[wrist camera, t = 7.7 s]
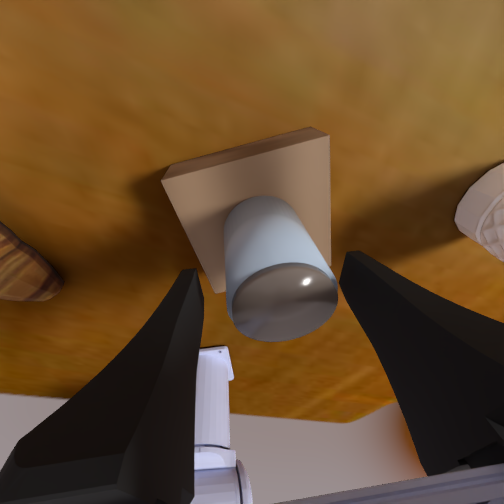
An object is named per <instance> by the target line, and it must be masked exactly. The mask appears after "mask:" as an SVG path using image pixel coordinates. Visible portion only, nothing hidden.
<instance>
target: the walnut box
mask: <svg viewBox="0 0 504 504" xmlns="http://www.w3.org/2000/svg"><path fill="white" fill-rule="evenodd" d="M161 182H162V184H163V187H164V189H165V191H166V193H167V195H168V197H169V199H170V201H171V203H172V205H173V207H174V209H175V211H176V213H177V216H178V218H179V220H180V222H181V224H182V226H183V228H184V230H185V232H186V234H187V236H188V238H189V240H190V242H191V245H192V247H193V249H194V251H195V253H196V255H197V257H198V259H199V261H200V263H201V265H202V267H203V269H204V271H205V273H206V276H207V278H208V280H209V282H210V284H211V286H212V288H213V290H214V292H215V294H216V293H220V292H224V291H226V277H225V254H224V224H225V221H226V219H227V217H228V215H229V214H230V212H231V211H232V210H233V209H234V208H235V207H236V206H237V205H238V204H240V203H241V202H243V201H245V200H247V199H249V198H252V197H256V196H273V197H277V198H280V199H282V200H284V201H285V202H287V203H288V204H289V205H290V206H291V207H292V208H293V209H294V211H295V212H296V214H297V216H298V217H299V219H300V221H301V222H302V224H303V225H304V227H305V229H306V230H307V232H308V234H309V235H310V237H311V239H312V240H313V242H314V243H315V245H316V247H317V248H318V250H319V252H320V253H321V255H322V256H323V258H324V260H325V261H326V263H327V265H328V266H331V207H330V135H328V134H326V133H324V132H322V131H319V130H317V129H315V128H312V127H308V128H304V129H301V130H297V131H293V132H289V133H286V134H282V135H278V136H275V137H271V138H267V139H264V140H260V141H256V142H253V143H249V144H245V145H242V146H238V147H234V148H231V149H227V150H223V151H220V152H216V153H212V154H209V155H205V156H201V157H198V158H194V159H190V160H187V161H183V162H179V163H176V164H172V165H170V167H169V169H168V170H167V172H166V173H165V175H164V176H163V178H162V179H161Z"/></svg>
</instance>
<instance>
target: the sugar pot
mask: <svg viewBox="0 0 504 504" xmlns="http://www.w3.org/2000/svg"><path fill="white" fill-rule="evenodd" d="M224 254H225V277H226V300H227V311H228V314H229V316H230V318H231V319H232V321H233V322H234V324H235V326H236V328H237V329H238V330H239V331H240V332H241V333H242V334H244V335H245V336H247V337H249V338H252V339H255V340H259V341H266V342H279V341H286V340H291V339H295V338H298V337H301V336H304V335H306V334H308V333H310V332H312V331H314V330H316V329H317V328H319V327H320V326H321V325H323V324H324V323H325V322H326V321H327V320H328V319H329V318H330V317H331V315H332V314H333V313H334V311H335V309H336V306H337V303H338V294H337V289H338V288H337V281H336V278H335V276H334V274H333V273H332V271H331V270H330V268H329V266H328V265H327V263H326V261H325V260H324V258H323V256H322V255H321V253H320V252H319V250H318V248H317V247H316V245H315V243H314V242H313V240H312V239H311V237H310V235H309V234H308V232H307V230H306V229H305V227H304V225H303V224H302V222H301V221H300V219H299V217H298V216H297V214H296V212H295V211H294V209H293V208H292V207H291V206H290V205H289V204H288V203H287V202H285V201H284V200H282V199H280V198H277V197H273V196H256V197H252V198H249V199H247V200H245V201H243V202H241V203H240V204H238V205H237V206H236V207H235V208H234V209H233V210H232V211H231V212H230V214H229V215H228V217H227V219H226V221H225V224H224Z"/></svg>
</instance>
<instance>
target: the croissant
mask: <svg viewBox="0 0 504 504" xmlns="http://www.w3.org/2000/svg"><path fill="white" fill-rule="evenodd" d="M63 284H64V281H63V280H62V278H61V277H60V276H59V274H58V273H57V272H56V270H55V269H54V268H53V267H52V266H51V265H50V264H49V263H48V262H47V261H46V260H45V259H44V258H43V257H42V256H41V255H40V254H39V253H38V252H37V251H36V250H35V249H34V248H32V247H31V246H29V245H27V244H26V243H24V242H23V241H21V240H20V239H19V238H18V237H17V236H16V235H15V234H14V233H13V232H12V231H11V230H10V229H9V228H8V227H6V226H5V225H4V224H3V223H1V222H0V299H5V300H12V301H46V300H49V299H51V298H52V297H54V296H55V295H57V294H58V293H59V292H60V290H61V289H62V287H63Z"/></svg>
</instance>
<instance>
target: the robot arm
mask: <svg viewBox="0 0 504 504" xmlns="http://www.w3.org/2000/svg"><path fill="white" fill-rule="evenodd" d="M339 284H340V287H341V289H342V292H343V294H344V296H345V299H346V301H347V303H348V304H349V306H350V308H351V310H352V311H353V313H354V315H355V316H356V318H357V320H358V321H359V323H360V325H361V327H362V328H363V330H364V332H365V333H366V335H367V337H368V338H369V340H370V342H371V343H372V345H373V347H374V349H375V351H376V353H377V355H378V357H379V359H380V362H381V364H382V366H383V368H384V370H385V372H386V375H387V377H388V379H389V381H390V384H391V386H392V388H393V391H394V393H395V395H396V398H397V400H398V403H399V405H400V408H401V410H402V413H403V415H404V418H405V420H406V423H407V426H408V429H409V431H410V434H411V437H412V440H413V442H414V445H415V448H416V451H417V454H418V456H419V459H420V463H421V465H422V466H423V468H424V470H425V472H426V474H427V476H428V477H422V478H416V479H411V480H406V481H399V482H394V483H388V484H382V485H377V486H371V487H365V488H360V489H354V490H348V491H343V492H337V493H331V494H325V495H320V496H314V497H308V498H303V499H297V500H291V501H286V502H280V503H274V504H504V323H502V322H499V321H496V320H494V319H491V318H489V317H486V316H484V315H481V314H479V313H476V312H474V311H471V310H469V309H467V308H464V307H462V306H460V305H458V304H455V303H453V302H451V301H449V300H447V299H445V298H443V297H440V296H438V295H436V294H434V293H432V292H430V291H428V290H427V289H425V288H423V287H421V286H419V285H417V284H415V283H413V282H412V281H410V280H408V279H406V278H405V277H403V276H401V275H399V274H398V273H396V272H394V271H393V270H391V269H389V268H388V267H386V266H384V265H383V264H381V263H379V262H378V261H376V260H375V259H373V258H371V257H369V256H368V255H366V254H364V253H362V252H361V251H351V252H346V256H345V260H344V264H343V268H342V272H341V276H340V280H339ZM203 320H204V297H203V293H202V289H201V285H200V281H199V277H198V273H197V270H196V268H194V269H185V270H182V271H181V273H180V274H179V276H178V278H177V279H176V281H175V282H174V284H173V286H172V287H171V289H170V290H169V292H168V293H167V295H166V296H165V298H164V299H163V301H162V302H161V303H160V305H159V306H158V308H157V309H156V310H155V312H154V313H153V314H152V316H151V317H150V318H149V319H148V321H147V322H146V323H145V325H144V326H143V327H142V328H141V329H140V331H139V332H138V333H137V334H136V335H135V336H134V338H133V339H132V340H131V341H130V342H129V343H128V344H127V345H126V346H125V348H124V349H123V350H122V351H121V352H120V353H119V354H118V355H117V356H116V357H115V358H114V359H113V360H112V361H111V362H110V363H109V364H108V365H107V366H106V367H105V368H104V369H103V370H102V371H101V372H100V373H99V374H98V375H96V376H95V377H94V378H93V379H92V380H91V381H90V382H89V383H88V384H87V385H85V386H84V387H83V388H82V389H81V390H80V391H79V392H78V393H76V394H75V395H74V396H73V397H72V398H71V399H70V400H68V401H67V402H66V403H65V404H64V405H62V406H61V407H60V408H59V409H58V410H56V411H55V412H54V413H53V414H51V415H50V416H49V417H48V418H46V419H45V420H44V421H43V422H41V423H40V424H39V425H38V426H36V427H35V428H34V429H33V430H32V431H30V432H29V433H28V434H26V435H25V436H24V437H22V438H21V439H20V440H19V441H18V443H17V444H16V446H15V447H14V449H13V451H12V452H11V454H10V456H9V457H8V459H7V461H6V463H5V464H4V466H3V468H2V469H1V471H0V504H253V501H252V492H251V485H250V480H249V476H248V473H247V471H246V470H245V468H244V466H243V464H242V462H241V461H240V460H236V455H235V454H236V453H235V450H230V427H229V387H228V381H230V380H233V379H234V375H233V370H232V365H231V360H230V356H229V351H228V347H226V346H221V347H213V348H206V349H200V343H201V336H202V328H203Z"/></svg>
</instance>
